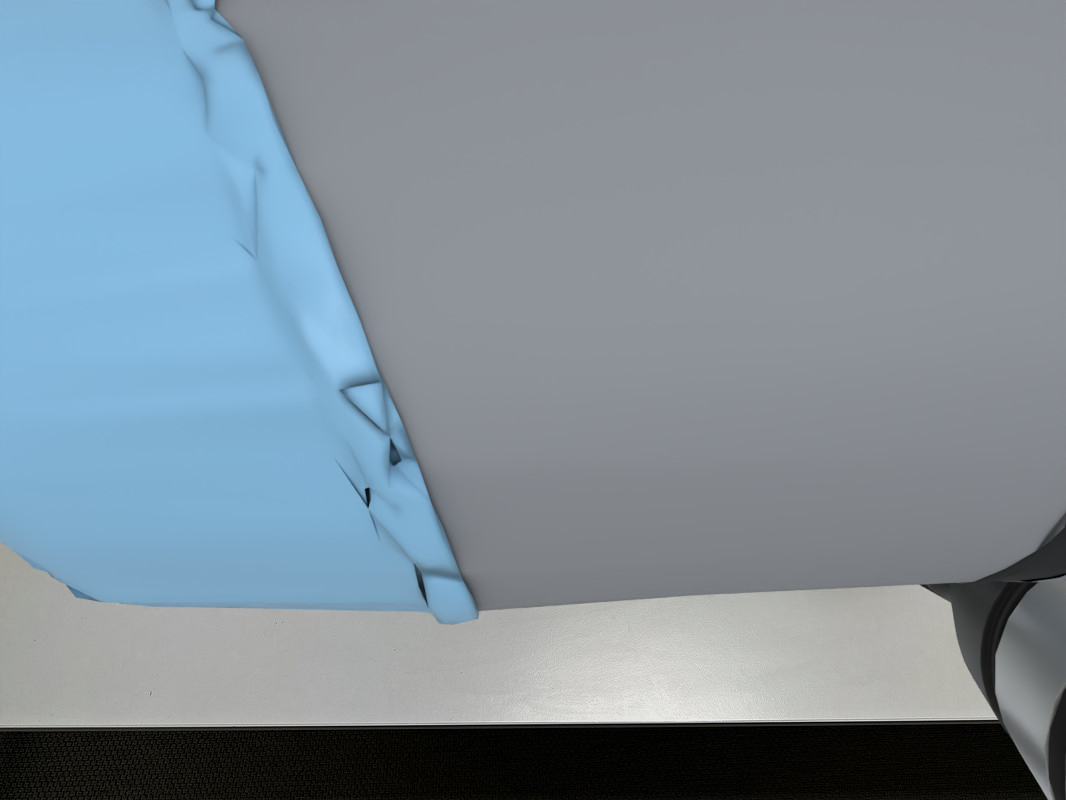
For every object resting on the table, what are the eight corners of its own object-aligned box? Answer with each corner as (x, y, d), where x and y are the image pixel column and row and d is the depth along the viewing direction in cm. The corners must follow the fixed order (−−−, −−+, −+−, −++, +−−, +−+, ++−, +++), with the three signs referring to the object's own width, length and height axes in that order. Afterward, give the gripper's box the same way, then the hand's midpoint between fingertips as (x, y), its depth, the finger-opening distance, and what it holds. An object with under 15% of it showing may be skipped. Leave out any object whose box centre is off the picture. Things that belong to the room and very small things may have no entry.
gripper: (636, 640, 23) (690, 487, 44) (1710, 1023, 18) (1197, 642, 38) (706, 398, 22) (728, 356, 42) (1890, 727, 16) (1259, 496, 37)
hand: (950, 491), depth 40 cm, fingers open, 13 cm apart
